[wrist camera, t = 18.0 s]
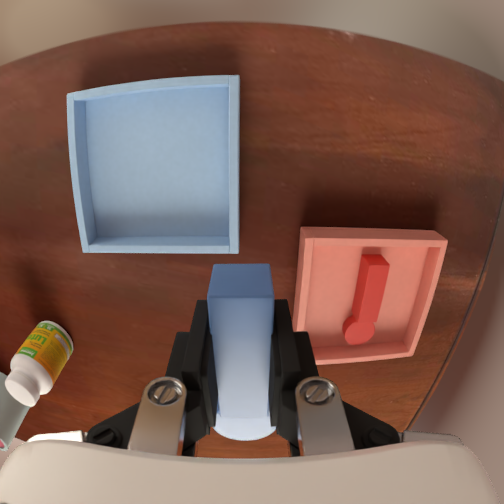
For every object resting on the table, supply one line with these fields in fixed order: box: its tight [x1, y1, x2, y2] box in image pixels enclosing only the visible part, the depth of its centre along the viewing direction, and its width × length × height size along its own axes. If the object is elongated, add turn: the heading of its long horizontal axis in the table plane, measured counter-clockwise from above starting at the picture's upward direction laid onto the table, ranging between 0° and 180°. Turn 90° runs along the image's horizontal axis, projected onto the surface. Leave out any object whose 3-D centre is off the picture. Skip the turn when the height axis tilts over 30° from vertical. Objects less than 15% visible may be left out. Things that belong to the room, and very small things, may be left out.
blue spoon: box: [207, 264, 276, 441], centre depth 12 cm, size 3×10×2 cm, turn 0°
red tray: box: [292, 227, 448, 365], centre depth 29 cm, size 13×13×3 cm
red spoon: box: [342, 254, 390, 345], centre depth 28 cm, size 3×10×2 cm, turn 179°
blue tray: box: [67, 75, 240, 254], centre depth 23 cm, size 13×13×3 cm
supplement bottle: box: [5, 321, 73, 407], centre depth 28 cm, size 5×5×10 cm
